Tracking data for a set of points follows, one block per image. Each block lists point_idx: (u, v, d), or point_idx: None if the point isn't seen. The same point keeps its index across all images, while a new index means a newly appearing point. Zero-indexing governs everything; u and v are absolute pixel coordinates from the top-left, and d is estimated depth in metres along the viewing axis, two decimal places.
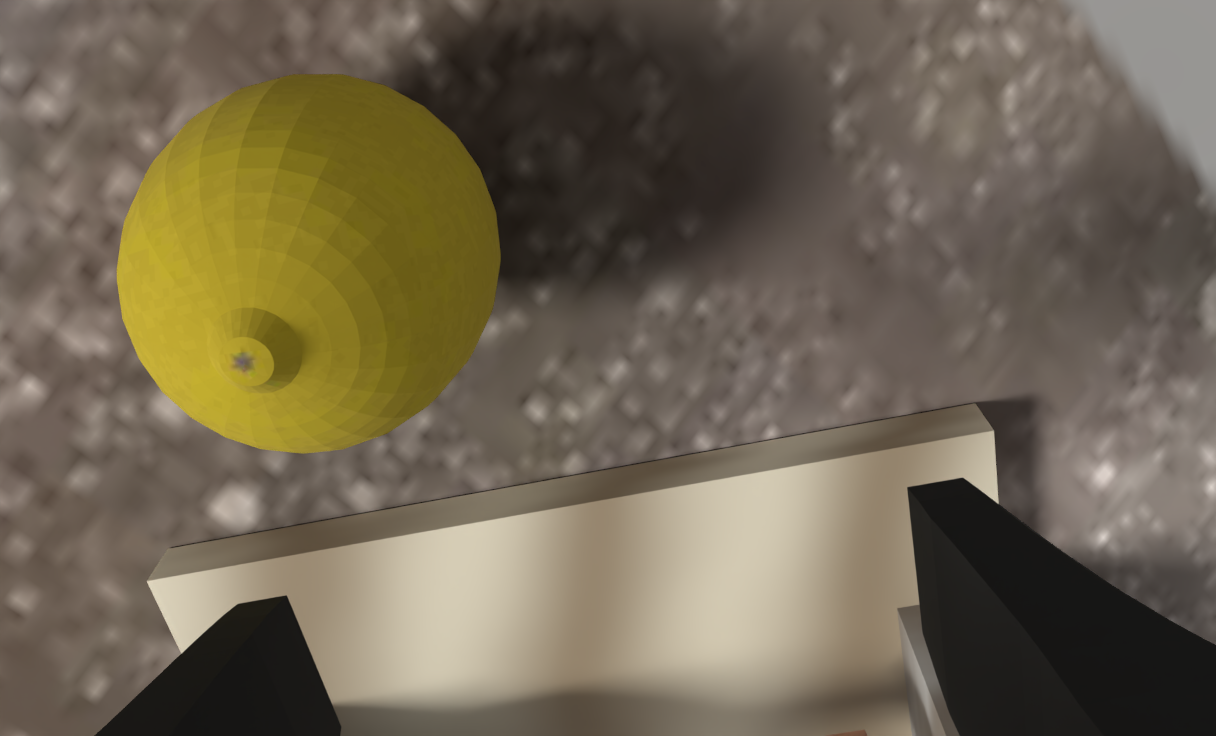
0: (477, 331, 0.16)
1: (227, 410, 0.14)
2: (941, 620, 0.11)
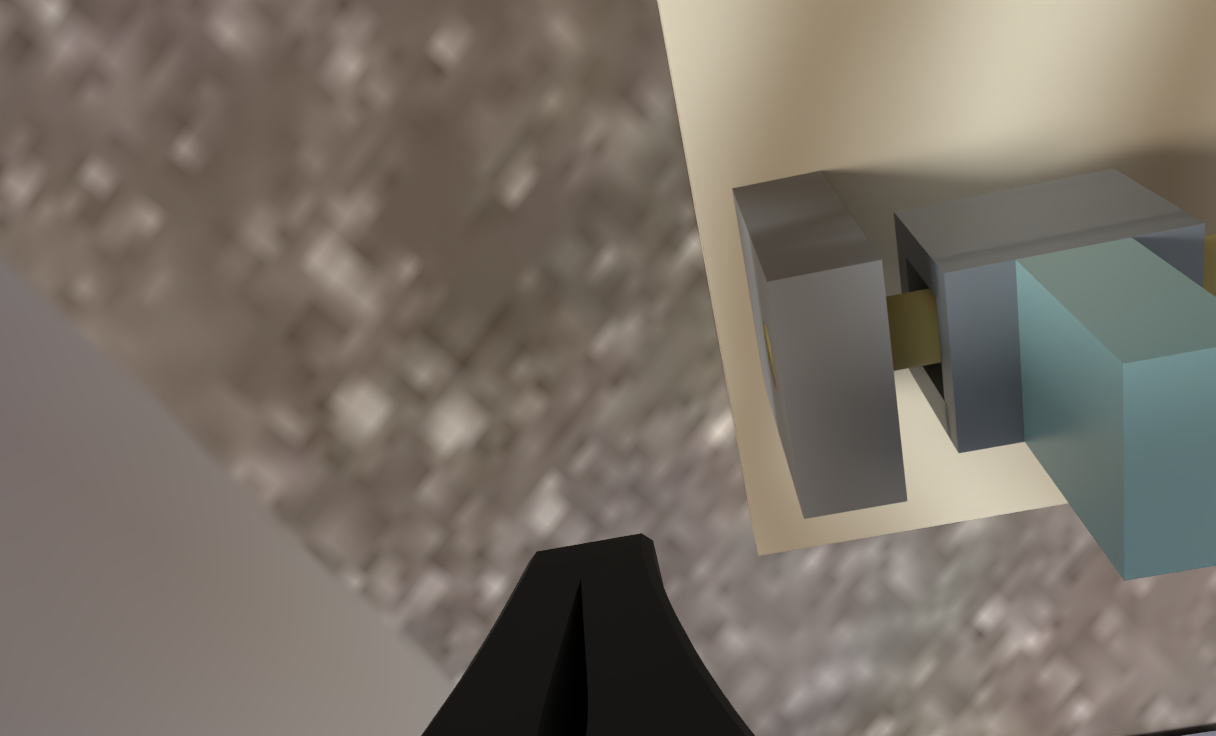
0: None
1: None
2: None
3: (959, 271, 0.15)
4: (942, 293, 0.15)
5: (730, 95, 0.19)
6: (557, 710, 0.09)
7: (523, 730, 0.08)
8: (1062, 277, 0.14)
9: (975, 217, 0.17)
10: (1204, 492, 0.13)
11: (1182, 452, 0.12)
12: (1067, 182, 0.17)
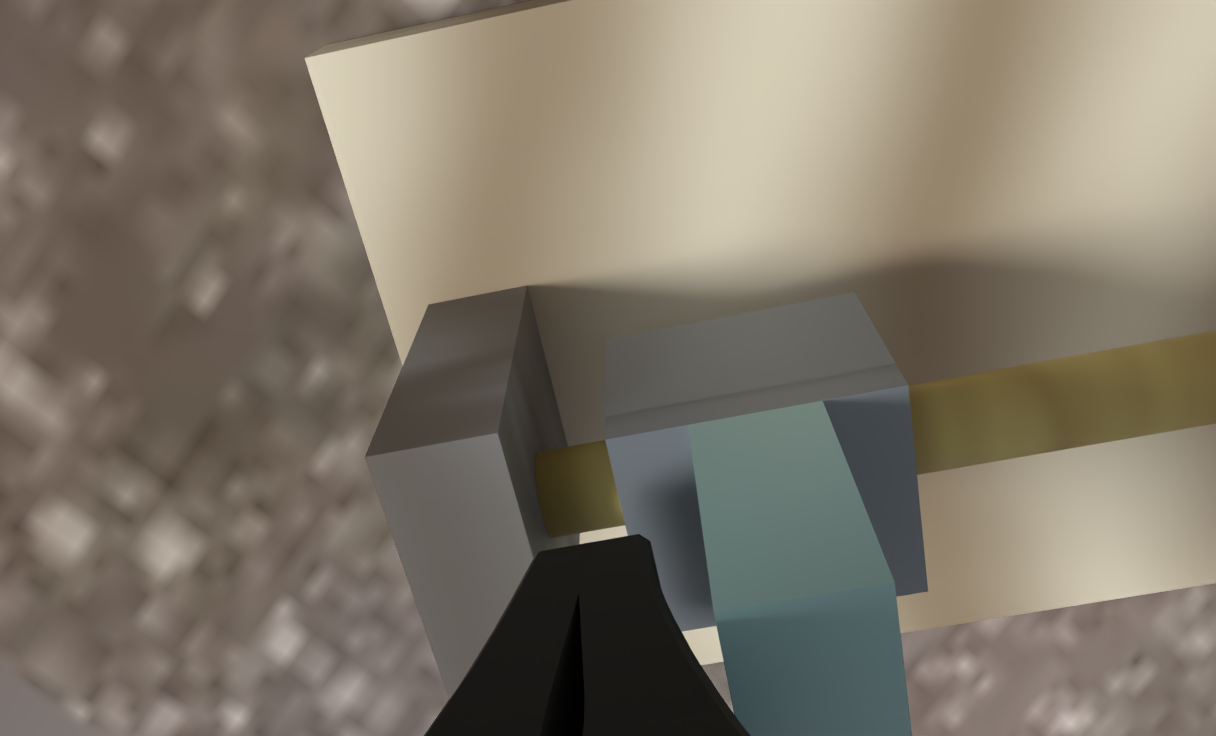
0: None
1: None
2: None
3: (622, 437, 0.13)
4: None
5: (413, 202, 0.16)
6: (560, 710, 0.09)
7: (526, 730, 0.08)
8: (721, 458, 0.12)
9: (682, 354, 0.14)
10: None
11: (805, 710, 0.10)
12: (799, 309, 0.15)
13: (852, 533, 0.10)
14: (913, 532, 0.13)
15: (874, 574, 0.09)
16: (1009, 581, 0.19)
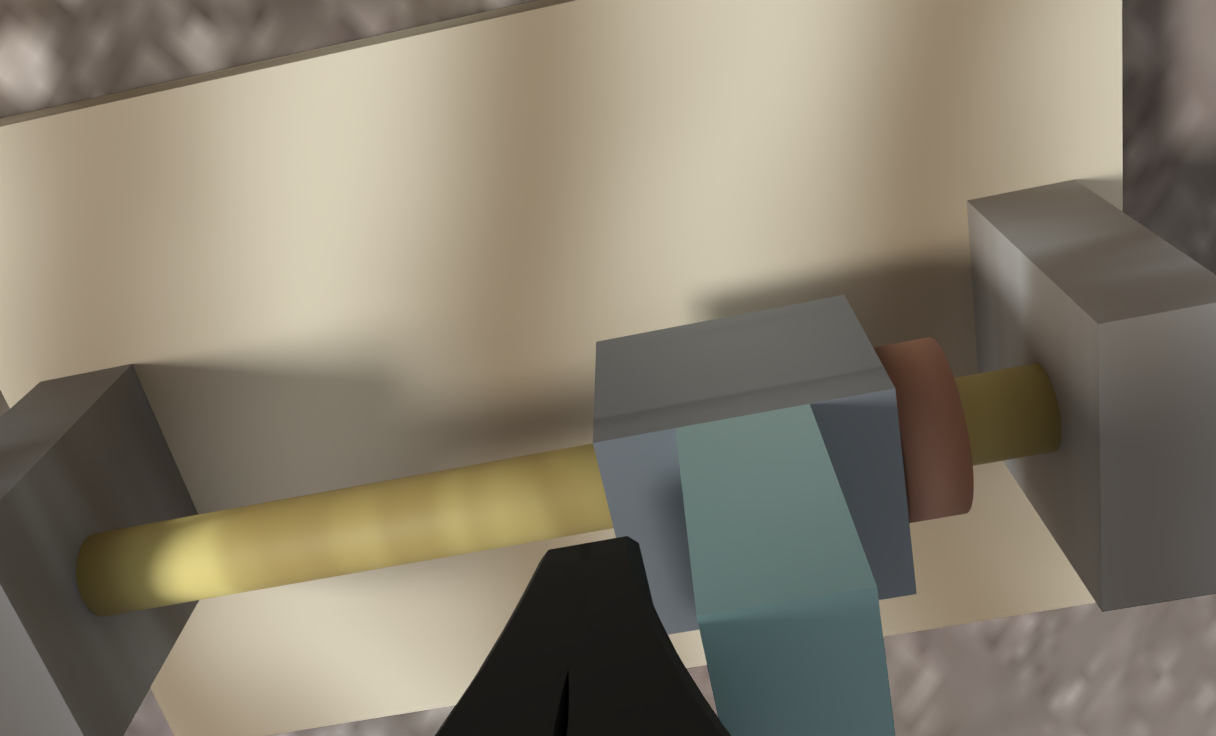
0: None
1: None
2: None
3: (610, 440, 0.13)
4: None
5: (9, 286, 0.17)
6: None
7: (539, 728, 0.08)
8: (707, 461, 0.12)
9: (670, 357, 0.14)
10: None
11: (790, 714, 0.10)
12: (788, 312, 0.15)
13: (836, 536, 0.10)
14: (901, 535, 0.13)
15: (857, 577, 0.09)
16: None
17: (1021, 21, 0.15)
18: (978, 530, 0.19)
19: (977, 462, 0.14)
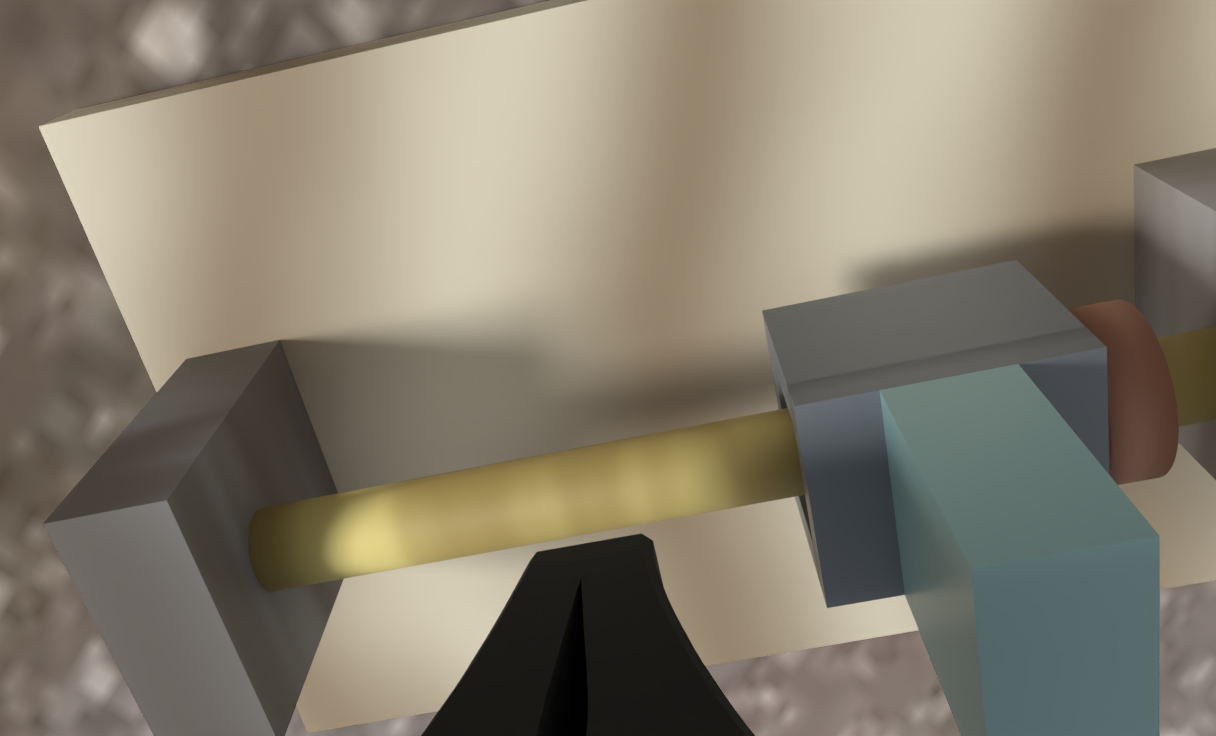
0: None
1: None
2: None
3: (812, 404, 0.13)
4: (796, 427, 0.13)
5: (160, 262, 0.17)
6: (557, 710, 0.09)
7: (523, 730, 0.08)
8: (927, 421, 0.12)
9: (849, 323, 0.14)
10: (1086, 715, 0.10)
11: (1055, 669, 0.10)
12: (962, 277, 0.15)
13: (1096, 489, 0.10)
14: None
15: (1134, 528, 0.09)
16: (785, 619, 0.19)
17: None
18: None
19: None
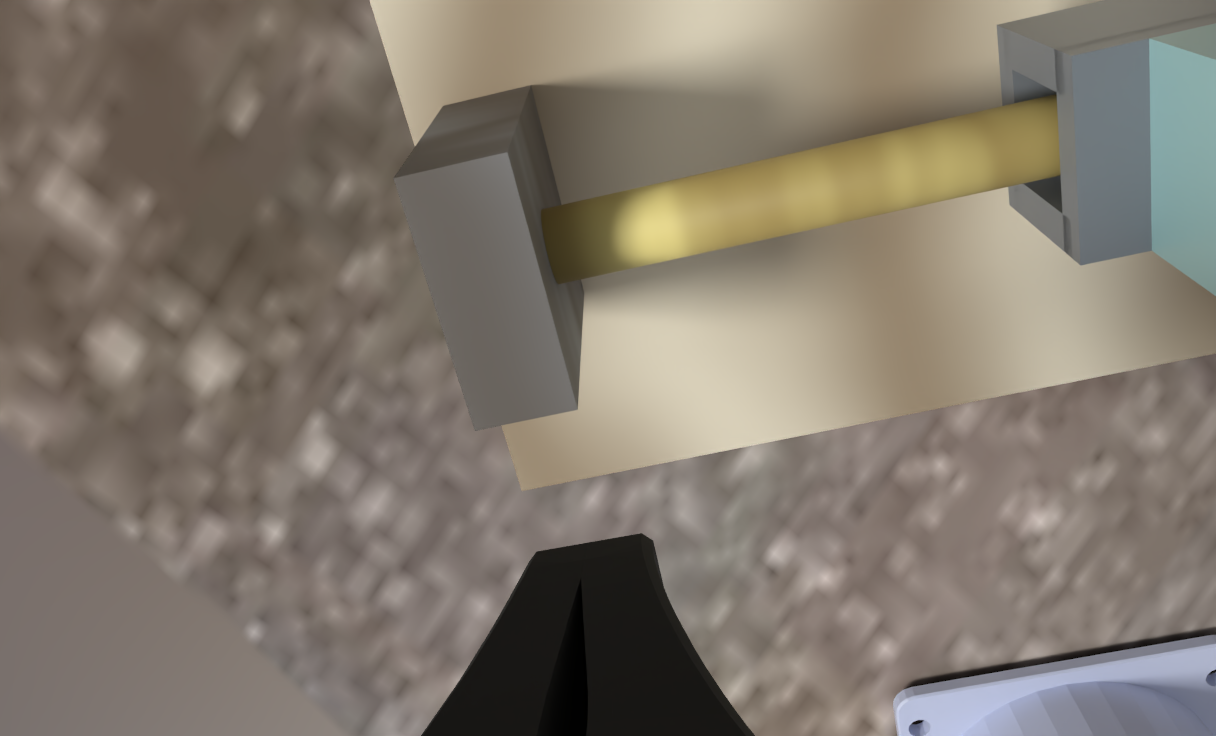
0: None
1: None
2: None
3: (1087, 53, 0.14)
4: (1067, 82, 0.14)
5: (428, 7, 0.18)
6: (557, 710, 0.09)
7: (522, 731, 0.08)
8: (1208, 43, 0.13)
9: (1091, 17, 0.16)
10: None
11: None
12: None
13: None
14: None
15: None
16: (974, 366, 0.21)
17: None
18: None
19: None
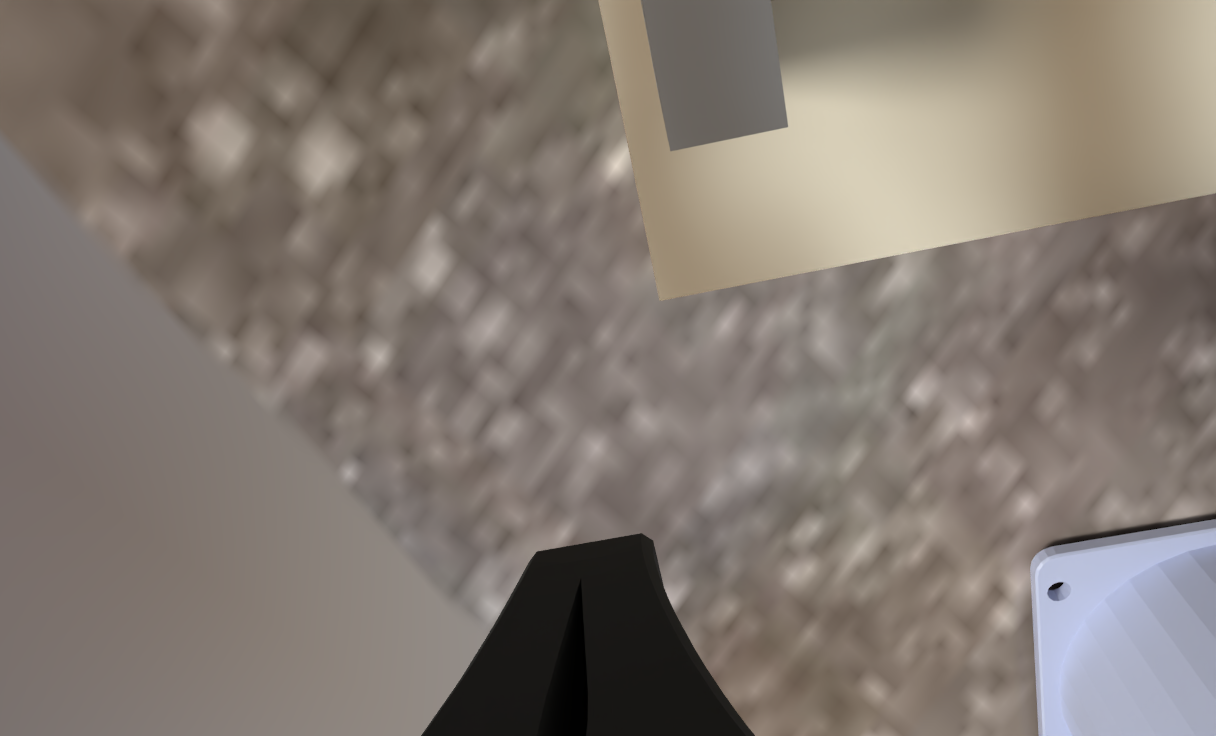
0: None
1: None
2: None
3: None
4: None
5: None
6: (557, 710, 0.09)
7: (523, 730, 0.08)
8: None
9: None
10: None
11: None
12: None
13: None
14: None
15: None
16: (1164, 162, 0.19)
17: None
18: None
19: None
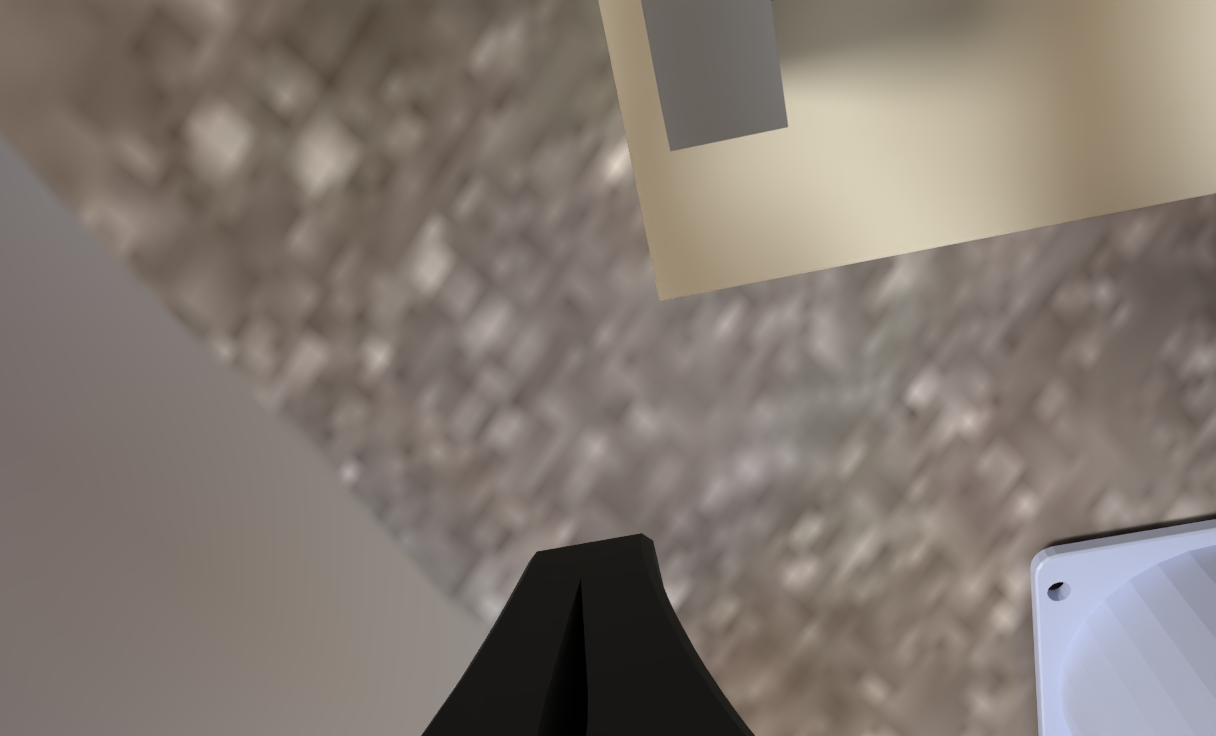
0: None
1: None
2: None
3: None
4: None
5: None
6: (557, 710, 0.09)
7: (523, 730, 0.08)
8: None
9: None
10: None
11: None
12: None
13: None
14: None
15: None
16: (1164, 162, 0.19)
17: None
18: None
19: None
